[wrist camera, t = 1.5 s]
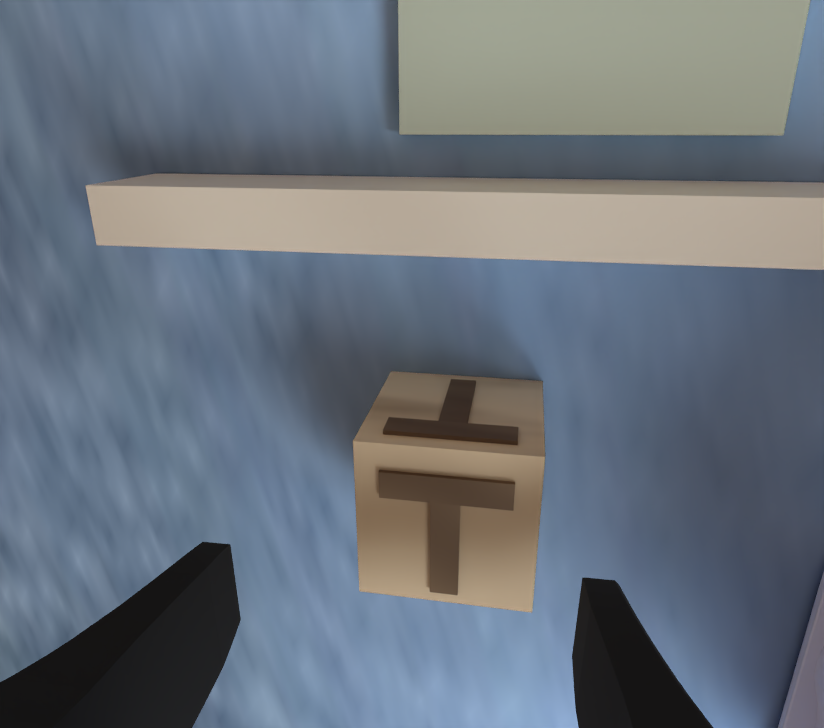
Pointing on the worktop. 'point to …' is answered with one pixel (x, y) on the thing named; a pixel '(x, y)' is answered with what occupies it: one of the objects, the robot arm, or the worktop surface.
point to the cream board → (471, 217)
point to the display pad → (597, 66)
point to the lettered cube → (451, 489)
